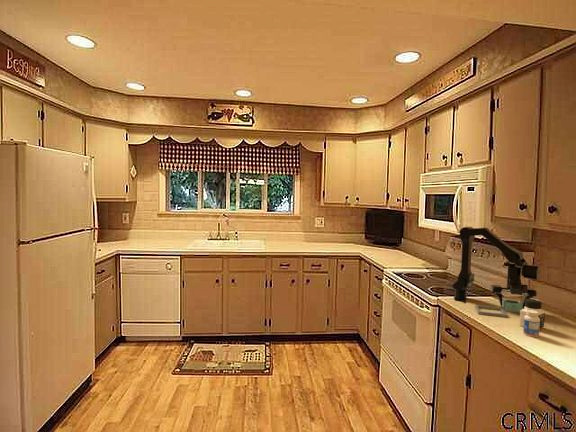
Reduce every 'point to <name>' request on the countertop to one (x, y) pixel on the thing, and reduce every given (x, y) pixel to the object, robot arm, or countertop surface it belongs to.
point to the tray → (490, 312)
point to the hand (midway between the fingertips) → (512, 307)
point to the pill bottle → (531, 323)
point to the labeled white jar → (535, 306)
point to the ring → (512, 306)
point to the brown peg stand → (511, 302)
